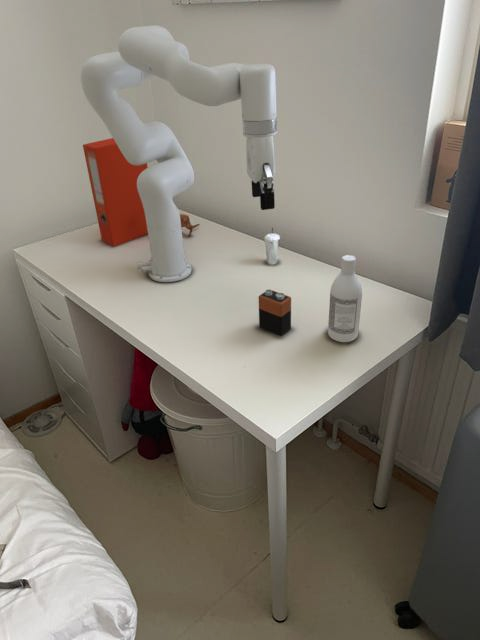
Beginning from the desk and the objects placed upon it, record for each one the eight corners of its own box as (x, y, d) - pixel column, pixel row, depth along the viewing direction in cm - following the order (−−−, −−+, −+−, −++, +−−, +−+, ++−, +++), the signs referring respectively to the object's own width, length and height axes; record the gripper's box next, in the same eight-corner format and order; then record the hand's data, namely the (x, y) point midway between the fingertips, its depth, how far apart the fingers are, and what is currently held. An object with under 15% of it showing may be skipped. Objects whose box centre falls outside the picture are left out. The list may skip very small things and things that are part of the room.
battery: (281, 337, 118) (281, 301, 113) (258, 328, 122) (257, 292, 116) (291, 329, 121) (292, 293, 115) (269, 320, 125) (268, 285, 119)
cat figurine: (193, 225, 180) (189, 188, 172) (206, 229, 176) (203, 191, 169) (156, 243, 168) (150, 203, 161) (170, 247, 164) (165, 207, 157)
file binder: (156, 231, 177) (143, 137, 159) (114, 246, 167) (95, 148, 150) (143, 225, 182) (129, 133, 164) (101, 240, 172) (82, 144, 155)
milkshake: (280, 258, 154) (280, 227, 149) (279, 265, 150) (279, 234, 144) (265, 258, 155) (264, 227, 149) (264, 265, 150) (263, 234, 145)
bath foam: (337, 323, 122) (342, 248, 111) (363, 333, 118) (371, 255, 107) (322, 336, 118) (326, 259, 107) (348, 346, 114) (355, 267, 103)
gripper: (236, 122, 117) (241, 193, 126) (250, 136, 103) (255, 216, 112) (267, 118, 118) (270, 190, 127) (286, 132, 104) (287, 212, 113)
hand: (263, 202), depth 119 cm, fingers open, 9 cm apart
